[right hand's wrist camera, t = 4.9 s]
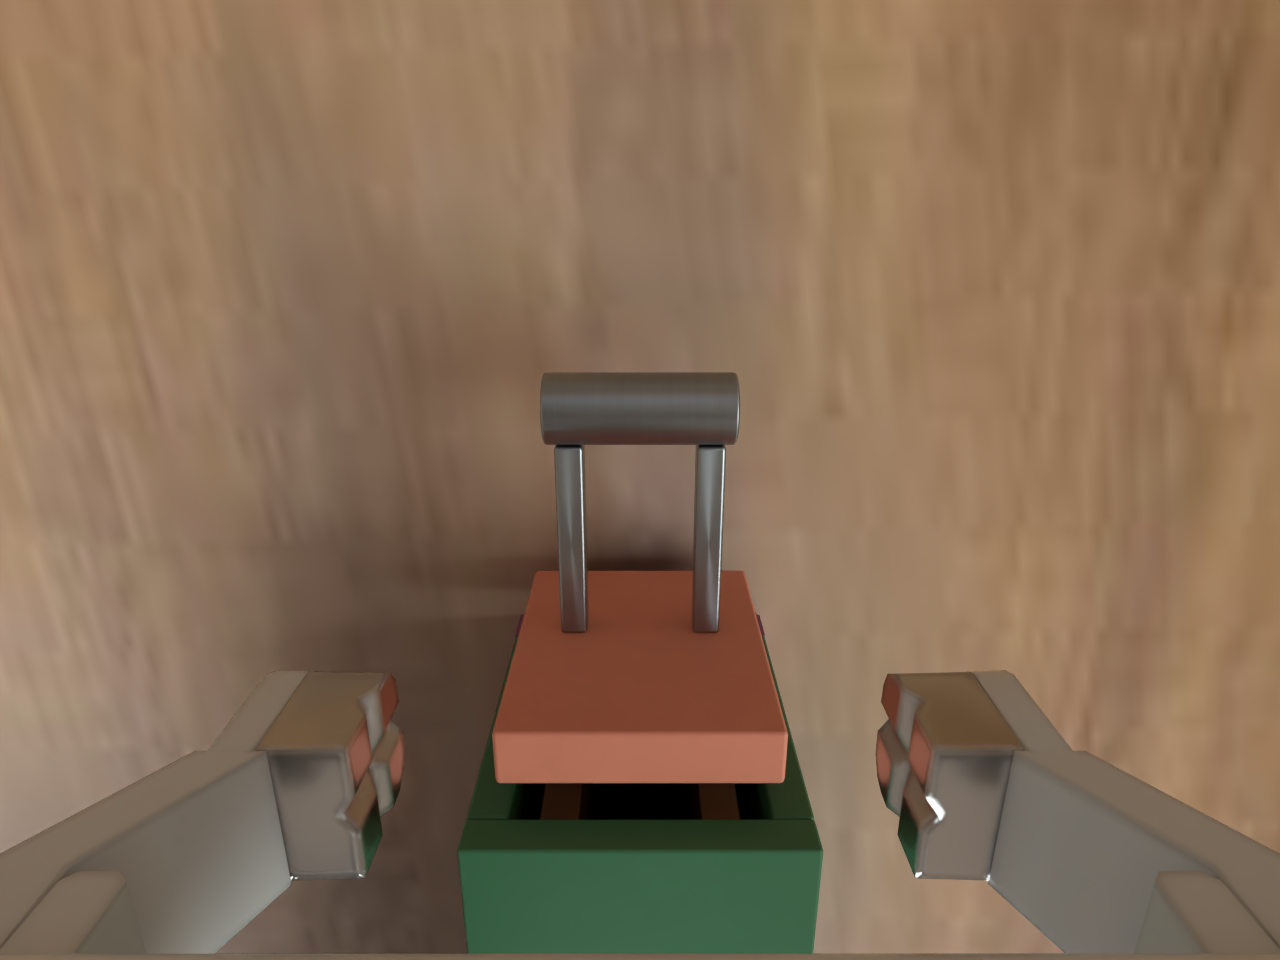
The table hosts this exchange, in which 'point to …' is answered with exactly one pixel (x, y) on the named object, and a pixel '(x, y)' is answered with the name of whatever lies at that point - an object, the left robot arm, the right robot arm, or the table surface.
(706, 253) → the table surface
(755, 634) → the drawer
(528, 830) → the cabinet
